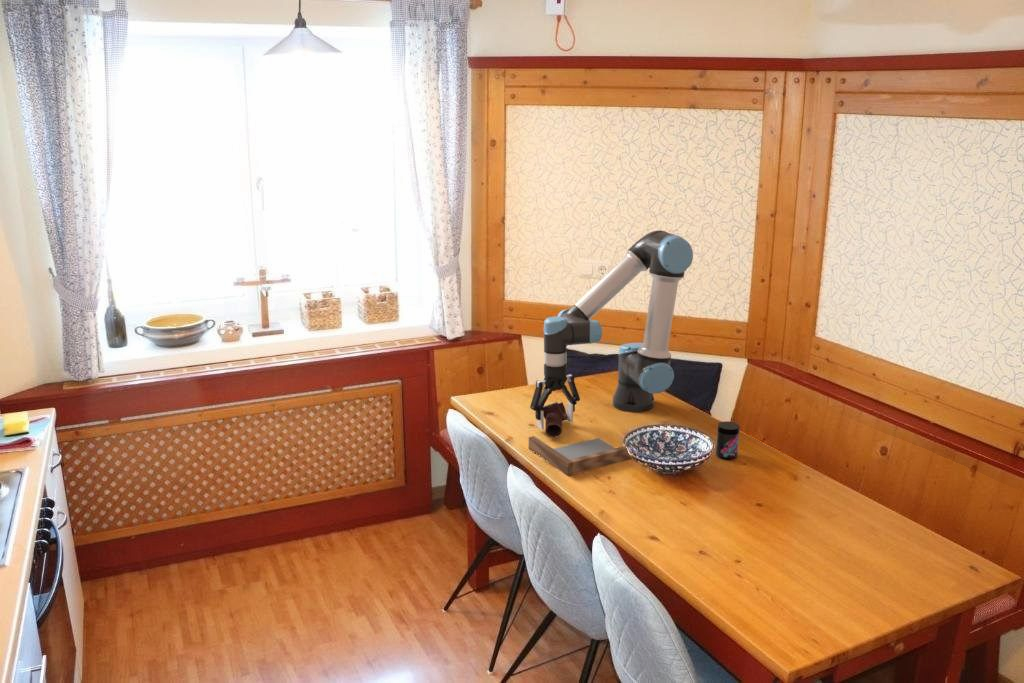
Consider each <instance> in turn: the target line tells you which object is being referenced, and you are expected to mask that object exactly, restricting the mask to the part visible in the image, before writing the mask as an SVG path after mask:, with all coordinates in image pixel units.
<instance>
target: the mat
mask: <svg viewBox="0 0 1024 683" xmlns="http://www.w3.org/2000/svg"><path fill="white" fill-rule="evenodd" d="M615 448H616V447H614V446H612V445H611V444H609V443H607V442H606V441H604V440H603V439H601V438H599V437H596V438H593V439H588V440H585V441H581V442H580V441H579V442H575V443H572V444H571V443H570V444H568V445H567V444H566V445H563V446H559V447H555V448H553V449H554V450H556V451H557V452H559V453H560V454H562V455H563V456H565V457H566V458H568V459H569V460H570V459H574V458H578V457H582V456H586V455H590V454H594V453H599V452H603V451H607V450H611V449H615Z"/></svg>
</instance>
